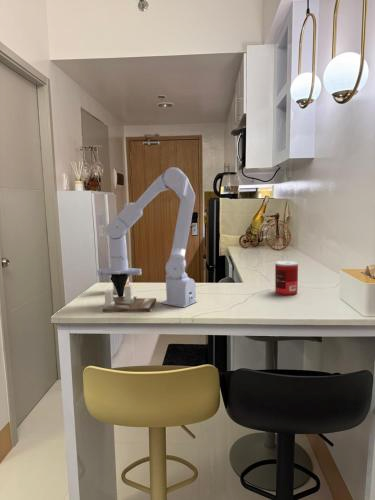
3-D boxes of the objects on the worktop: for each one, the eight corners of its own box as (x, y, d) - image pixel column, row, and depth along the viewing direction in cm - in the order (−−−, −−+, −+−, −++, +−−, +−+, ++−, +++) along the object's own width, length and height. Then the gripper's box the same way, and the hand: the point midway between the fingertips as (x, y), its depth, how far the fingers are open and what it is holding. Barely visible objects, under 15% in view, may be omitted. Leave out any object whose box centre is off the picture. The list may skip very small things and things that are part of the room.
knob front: (115, 303, 119) (114, 289, 118) (112, 306, 116) (111, 291, 116) (106, 303, 119) (105, 289, 119) (103, 306, 117) (103, 291, 116)
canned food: (299, 290, 133) (299, 261, 132) (295, 296, 126) (296, 265, 125) (277, 289, 137) (277, 260, 135) (273, 294, 129) (273, 264, 128)
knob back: (133, 298, 125) (133, 284, 124) (132, 300, 122) (131, 286, 122) (125, 298, 125) (125, 284, 125) (123, 300, 123) (122, 286, 122)
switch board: (156, 301, 126) (156, 295, 126) (149, 311, 114) (149, 306, 114) (113, 301, 127) (113, 296, 127) (102, 312, 115) (102, 306, 115)
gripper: (93, 258, 119) (96, 299, 121) (137, 258, 117) (139, 299, 119) (100, 255, 126) (102, 293, 127) (141, 254, 124) (143, 293, 126)
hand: (120, 296), depth 124 cm, fingers closed
